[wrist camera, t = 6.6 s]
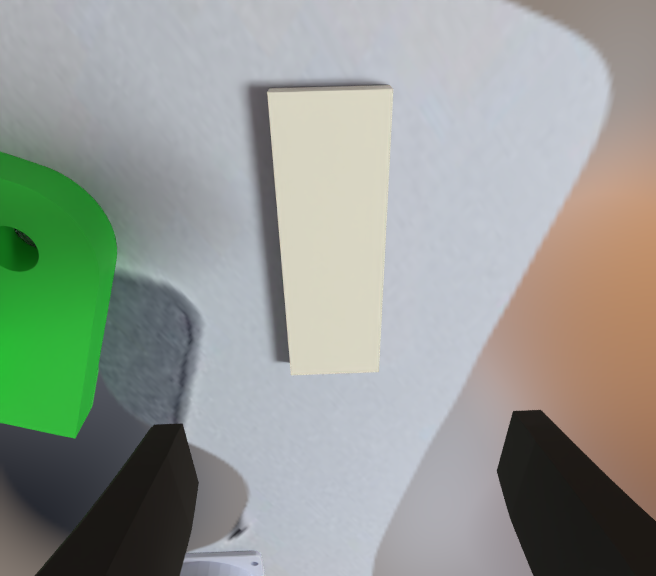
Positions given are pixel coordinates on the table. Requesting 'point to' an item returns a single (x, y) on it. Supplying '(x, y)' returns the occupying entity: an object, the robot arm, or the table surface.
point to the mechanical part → (51, 297)
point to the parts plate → (332, 221)
